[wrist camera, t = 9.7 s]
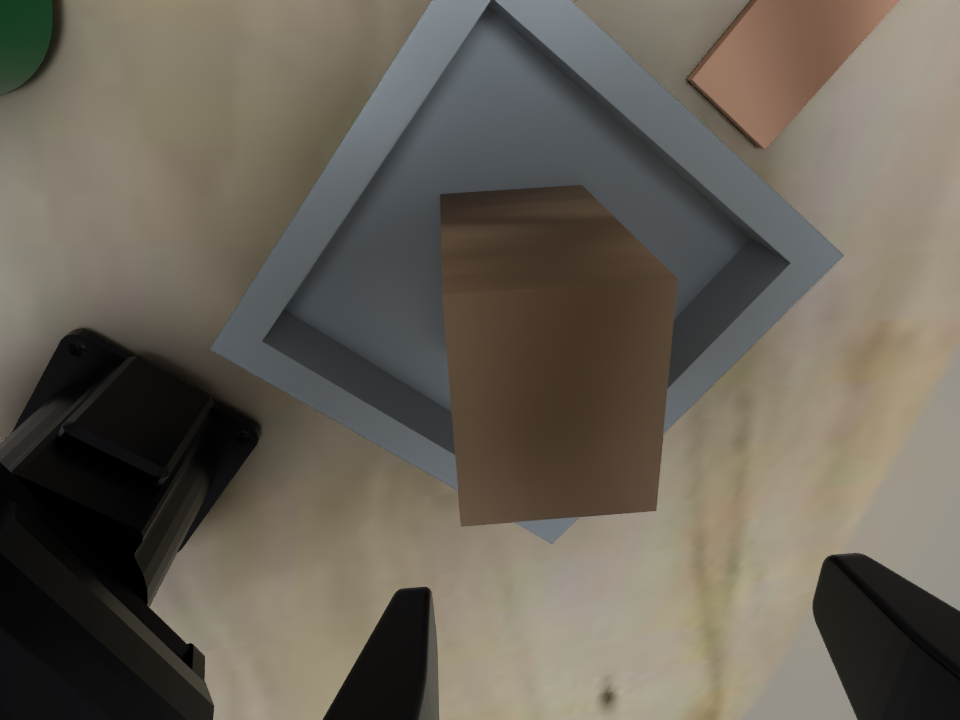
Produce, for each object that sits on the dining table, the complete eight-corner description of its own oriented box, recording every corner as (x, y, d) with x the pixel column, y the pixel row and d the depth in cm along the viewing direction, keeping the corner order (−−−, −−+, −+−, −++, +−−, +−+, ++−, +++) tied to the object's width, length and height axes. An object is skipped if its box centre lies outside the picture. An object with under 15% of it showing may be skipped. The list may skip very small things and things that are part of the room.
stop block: (452, 354, 20) (461, 526, 13) (440, 193, 18) (441, 295, 11) (578, 345, 20) (655, 510, 13) (582, 184, 18) (678, 278, 11)
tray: (538, 486, 23) (552, 543, 21) (240, 307, 20) (209, 349, 17) (788, 226, 19) (843, 255, 17) (475, -60, 16) (483, -81, 13)
